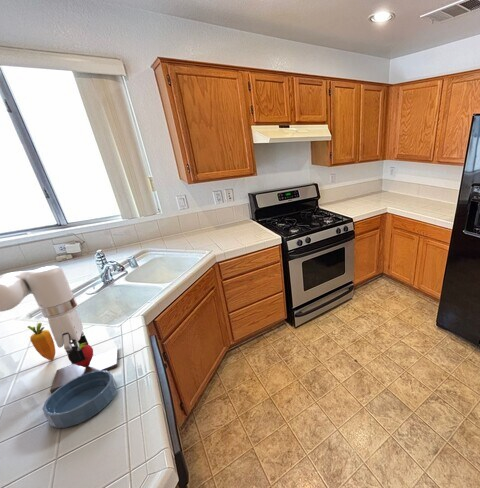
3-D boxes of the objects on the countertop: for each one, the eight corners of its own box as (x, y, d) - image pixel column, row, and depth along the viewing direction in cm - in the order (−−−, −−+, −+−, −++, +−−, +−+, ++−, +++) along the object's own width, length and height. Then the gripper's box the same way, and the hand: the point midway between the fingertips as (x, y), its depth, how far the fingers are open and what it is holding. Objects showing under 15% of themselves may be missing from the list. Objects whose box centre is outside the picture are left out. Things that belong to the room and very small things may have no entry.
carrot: (38, 363, 90) (19, 327, 86) (56, 353, 95) (39, 318, 90) (47, 366, 89) (28, 329, 84) (65, 356, 93) (48, 320, 88)
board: (51, 393, 78) (49, 390, 78) (58, 372, 86) (56, 370, 85) (117, 366, 87) (116, 363, 86) (118, 350, 94) (117, 347, 94)
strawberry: (76, 378, 81) (64, 352, 78) (72, 367, 86) (61, 342, 83) (100, 366, 86) (90, 341, 82) (95, 356, 90) (85, 332, 87)
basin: (44, 441, 64) (36, 426, 63) (56, 400, 75) (49, 387, 74) (117, 407, 72) (111, 393, 70) (118, 375, 83) (113, 362, 82)
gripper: (48, 299, 83) (69, 345, 89) (33, 325, 70) (60, 376, 75) (79, 291, 87) (98, 335, 93) (71, 314, 74) (93, 364, 79)
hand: (80, 353), depth 84 cm, fingers closed on strawberry, 7 cm apart
